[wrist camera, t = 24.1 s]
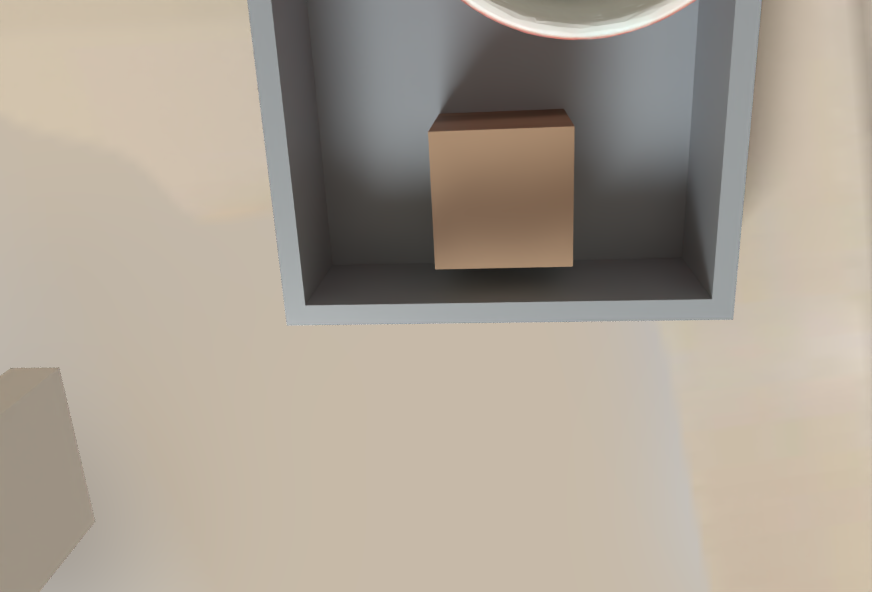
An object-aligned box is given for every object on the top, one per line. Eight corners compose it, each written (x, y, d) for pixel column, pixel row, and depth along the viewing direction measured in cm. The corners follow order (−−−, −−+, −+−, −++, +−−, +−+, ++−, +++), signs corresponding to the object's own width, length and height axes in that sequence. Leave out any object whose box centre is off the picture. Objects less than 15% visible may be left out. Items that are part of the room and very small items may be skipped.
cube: (439, 113, 32) (427, 131, 27) (563, 108, 31) (574, 126, 26) (444, 232, 33) (434, 269, 29) (562, 229, 33) (572, 266, 28)
